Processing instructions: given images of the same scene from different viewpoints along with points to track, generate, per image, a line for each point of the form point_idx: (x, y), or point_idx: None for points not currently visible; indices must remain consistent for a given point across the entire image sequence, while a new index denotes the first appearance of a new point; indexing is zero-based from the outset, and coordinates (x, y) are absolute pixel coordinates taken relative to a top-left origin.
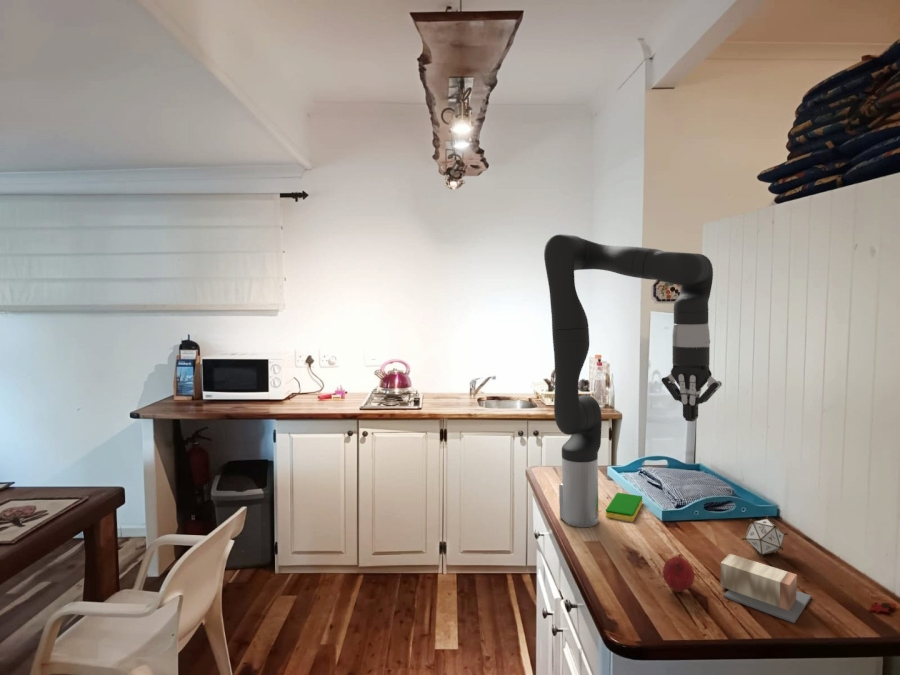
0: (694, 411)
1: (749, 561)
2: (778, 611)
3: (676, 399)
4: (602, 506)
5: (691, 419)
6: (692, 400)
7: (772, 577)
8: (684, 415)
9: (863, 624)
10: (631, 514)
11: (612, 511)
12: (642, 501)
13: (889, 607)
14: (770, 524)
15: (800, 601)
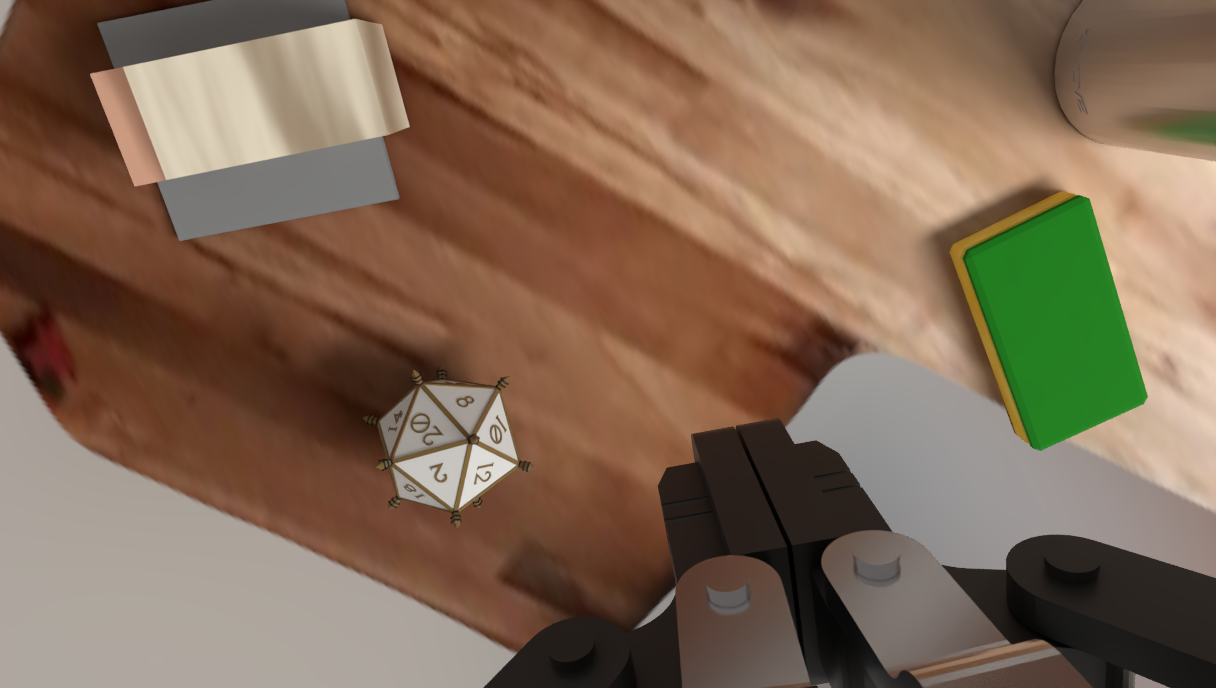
0: (684, 529)
1: (298, 136)
2: (161, 36)
3: (1052, 545)
4: (1137, 268)
5: (694, 437)
6: (730, 618)
7: (163, 80)
8: (814, 457)
9: (5, 214)
10: (969, 251)
11: (1054, 210)
12: (1020, 436)
13: (37, 381)
14: (413, 471)
15: None
